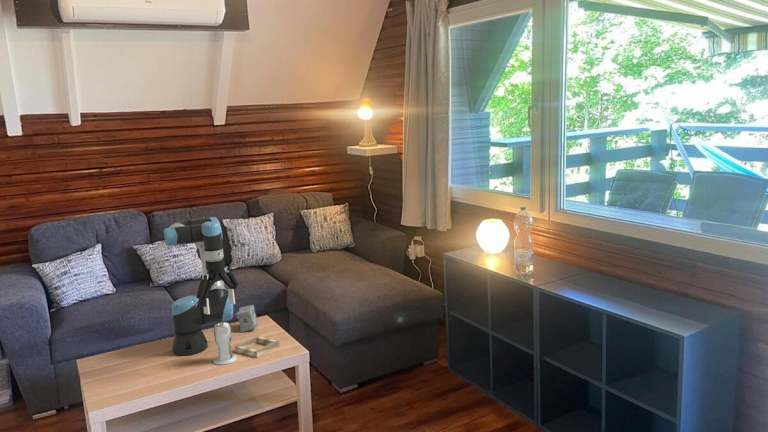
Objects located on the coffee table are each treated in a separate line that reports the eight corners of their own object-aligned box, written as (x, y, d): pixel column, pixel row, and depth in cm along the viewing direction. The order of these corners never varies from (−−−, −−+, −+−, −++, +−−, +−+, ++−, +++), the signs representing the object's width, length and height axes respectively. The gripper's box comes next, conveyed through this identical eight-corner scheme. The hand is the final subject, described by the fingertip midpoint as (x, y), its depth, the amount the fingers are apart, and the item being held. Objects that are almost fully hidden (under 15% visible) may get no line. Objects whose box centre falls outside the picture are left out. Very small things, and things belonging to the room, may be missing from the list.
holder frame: (235, 351, 268) (234, 346, 268) (257, 341, 279) (257, 335, 279) (257, 357, 261) (256, 352, 260) (279, 346, 272) (279, 341, 271)
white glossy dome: (208, 362, 259) (208, 360, 259) (226, 353, 267) (226, 352, 267) (224, 366, 253) (224, 365, 253) (242, 357, 261) (242, 356, 261)
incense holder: (241, 325, 300) (239, 305, 298) (258, 324, 301) (256, 304, 299) (237, 333, 291) (235, 312, 289) (254, 331, 291) (252, 311, 289)
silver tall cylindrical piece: (220, 355, 264) (217, 322, 261) (236, 355, 263) (232, 321, 260) (214, 362, 257) (210, 328, 254) (230, 361, 256) (226, 328, 253)
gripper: (196, 268, 240) (201, 319, 244) (243, 253, 260) (248, 300, 264) (183, 265, 244) (189, 316, 248) (231, 251, 264) (236, 298, 268)
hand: (219, 308), depth 256 cm, fingers open, 13 cm apart
